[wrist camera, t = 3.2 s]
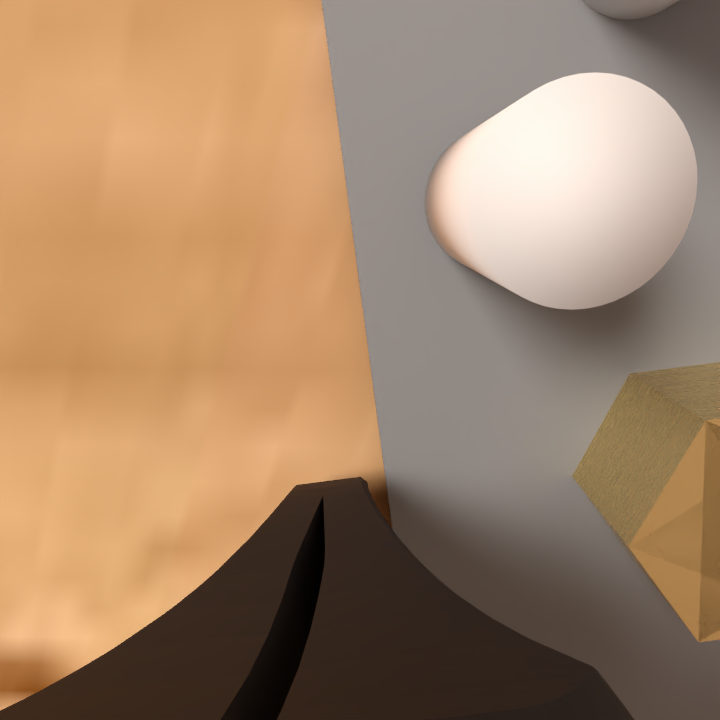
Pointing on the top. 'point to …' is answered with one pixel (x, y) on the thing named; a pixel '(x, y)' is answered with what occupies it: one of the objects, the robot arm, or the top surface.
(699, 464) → the tan faceted polyhedron
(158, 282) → the top surface
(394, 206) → the board
